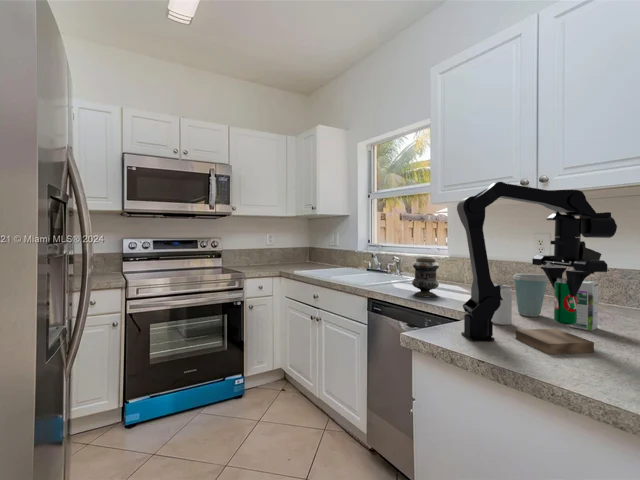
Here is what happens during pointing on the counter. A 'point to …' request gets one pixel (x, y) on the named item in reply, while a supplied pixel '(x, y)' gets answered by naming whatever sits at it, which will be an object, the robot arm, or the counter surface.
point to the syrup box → (587, 306)
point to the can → (504, 307)
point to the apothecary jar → (425, 275)
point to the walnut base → (554, 341)
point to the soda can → (564, 303)
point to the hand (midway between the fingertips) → (565, 294)
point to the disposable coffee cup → (530, 293)
